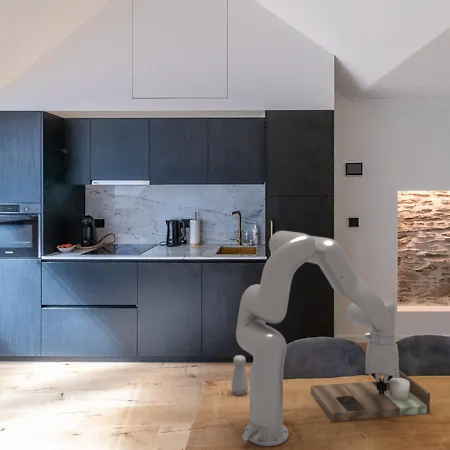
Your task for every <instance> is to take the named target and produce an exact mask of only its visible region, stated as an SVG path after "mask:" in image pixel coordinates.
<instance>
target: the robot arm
mask: <svg viewBox="0 0 450 450" xmlns="http://www.w3.org/2000/svg"><path fill="white" fill-rule="evenodd" d="M268 247H269V251H270V253H271V256H269V258H268V259H267V260H266V262H265V264H264V267H263V269H262V276H261V279H260V284H259V283H258V284H257V283H256V284H252V285H250V286H249V287H247V288H246V289H245V291H244V292H243V294H242V295H241V298H240V303H239V310H238V315H237V323H236V329H235V338H236V342H237V345H239V347H240V348H241V349H242V350H243V351H245V352H246V353H248V354H250V355H251V356H252V357H253V361H252V363H251V366H250V371H249V423H248V424H247V425H246V426H245V428H244V433H242V435H241V438H242V440H243V441H244V442H247V441H249V442H250V443H251V444H254V445H258V446H262V447H273V446H279V445H282V444H283V443H285V442H286V441H287V440H288V438H289V430H288V428H287V426H286V425H284V366H285V365H284V364H285V359H286V354H287V342H286V339H285V337H284V335H282V333H281V332H279V331H278V330H277V329H275V328H273V327H271V326H269V325H267V324H266V323H269V324H279V323H281V322H282V321H283V320H284V319H285V317H286V314H287V311H288V307H289V306H288V304H289V299H290V293H291V292H290V291H291V285H292V281H293V277H294V274H295V273H296V271H297V270H298V269H299V268H300V267H301V266H302V265H304V264H305V263H311V264H315V265H318V266H319V268H320V269H321V272H322V273H323V274H324V276H325V277H326V279H327V281H328V283H329V284H330V286H331V288H332V289H333V290H334V291H335V292H336V293H338V294H339V295H340V296H341V297H343V298H345V299H347V300H348V301H350V302H351V303H350V304H349V306H348V307H347V309H346V316H347V319H348V320H349V322H351V323H352V324H355V325H356V326H360V327H362V328H364V329H368V330H370V332H368V333H365V338H367V339H369V340H368V342H367V345H366V350H365V351H366V352H365V371H364V374H366V375H369V376H371V377H372V378H374V381H377V390H379V394H381V392H382V395H384V391H386V390H387V382H388V381H389V380H390V379H392V378H399V371H398V370H400V368H399V367H400V366H399V365H400V364H399V362H400V361H399V360H400V359H399V358H400V357H399V349H398V344H397V343H396V341H395V340H396V338H395V337H396V336H395V335H396V332H395V331H396V304H395V303H394V302H393V301H392V300H386V299H382V297H381V296H380V295H379V294H378V292H377V291H375V289H374V288H372V287H371V286H370V285H369V284H368V283H367V282H366V281H365V280H364V279H363V278H362V277H361V276H359V275H358V273H357V272H356V270H355V268H354V266H353V265H352V263H351V261H350V260H349V258H348V257H347V254H346V253H345V252H344V250H343V249H344V248H343V247H342V246H341V244H340V243H339V242H338V241H337V240H335V239H333V238H330V237H329V238H328V237H322V236H315V235H309V234H307V233H304V232H298V231H297V232H296V231H289V230H288V231H287V230H277V231H276V232H274V234H272V235H271V237H270V238H269V242H268ZM381 375H382V376H383V375H384V376H383V378H382V377H381Z"/></svg>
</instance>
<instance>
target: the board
mask: <svg viewBox="0 0 450 450" xmlns="http://www.w3.org/2000/svg"><path fill="white" fill-rule="evenodd" d="M398 371H399V378H404V379H406V380H408V381H409V382H410V388H409V399H407V400H397V399H394V398H392V397H391V396H390V380H389V381H388V382H387V390H386V391H384V395H382V392H381V394H379V390H377V381H376V380H374V381H361V382H346V383H345V382H344V383H334V384H333V383H332V384H331V383H330V384H322V385H321V384H320V385H319V384H318V385H311V386H310V394H311V396H313V398H314V400H315V401H316V402H317V403H318V404H319V406H320V407H321V408H322V410H323V411H324V412H325V415H326V416H327V417H328V418H329V420H330V421H331V422H344V421H353V420H354V421H355V420H367V419H376V418H391V417H401V416H402V417H403V416H404V417H405V416H411V415H412V416H413V415H414V416H415V415H426V414H430V412H431V411H430V410H431V408H430V407H431V393H430V392H429V391H428V390H426V389H425V388H424V387H423V386H421V385H420V384H418V382H416V381H414V380H413V379H412V378H410V377H409V376H408V375H406V374H405V373H404V372H403V371H401V370H400V369H399V370H398Z"/></svg>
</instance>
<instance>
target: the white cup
mask: <svg viewBox="0 0 450 450" xmlns="http://www.w3.org/2000/svg"><path fill="white" fill-rule="evenodd" d="M409 388H410V382H409V381H408V380H406V379H404V378H392V379H390V396H391V397H392V398H394V399H397V400H407V399H409Z"/></svg>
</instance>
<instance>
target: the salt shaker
mask: <svg viewBox="0 0 450 450" xmlns="http://www.w3.org/2000/svg"><path fill="white" fill-rule="evenodd" d="M246 362H247V361H246V357H245V356H244V355H241V354H240V355H237V354H236V355H235V356H234V357H233V364H234V369H233V375H232V381H231V389H232V393H233V394H234V395H236V396H244V395H246V393H247V391H248V389H249V385H248V384H249V383H248V381H247V373H246V368H245V367H246V366H245V364H246Z"/></svg>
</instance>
